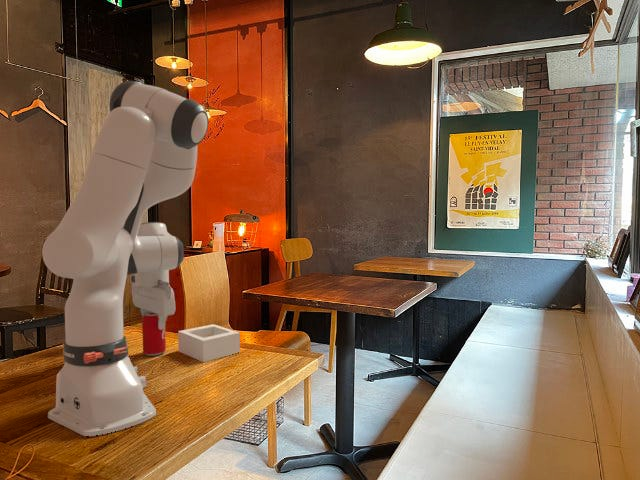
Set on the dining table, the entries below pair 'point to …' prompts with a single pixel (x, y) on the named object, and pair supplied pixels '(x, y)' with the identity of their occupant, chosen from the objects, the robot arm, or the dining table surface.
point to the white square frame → (208, 342)
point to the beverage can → (152, 335)
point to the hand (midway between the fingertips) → (153, 326)
